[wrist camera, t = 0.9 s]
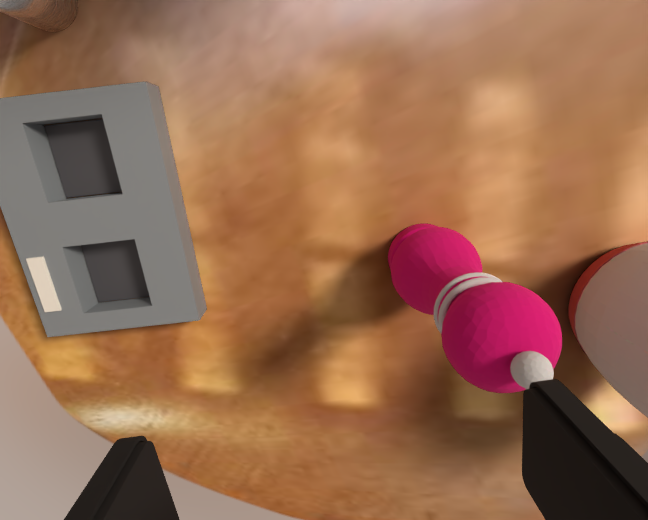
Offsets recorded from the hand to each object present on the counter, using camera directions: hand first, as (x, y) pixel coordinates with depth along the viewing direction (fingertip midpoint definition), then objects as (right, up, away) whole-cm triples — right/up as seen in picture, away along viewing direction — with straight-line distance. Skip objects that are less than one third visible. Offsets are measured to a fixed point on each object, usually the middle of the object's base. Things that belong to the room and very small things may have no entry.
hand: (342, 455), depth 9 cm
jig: (-20, +9, +25) cm, 33 cm away
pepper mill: (+9, +5, +27) cm, 29 cm away
